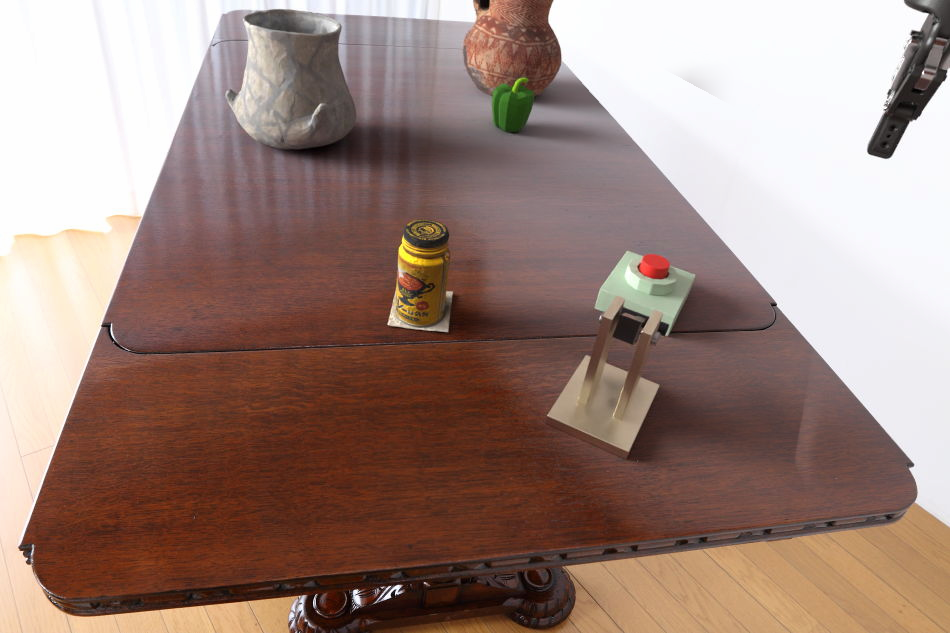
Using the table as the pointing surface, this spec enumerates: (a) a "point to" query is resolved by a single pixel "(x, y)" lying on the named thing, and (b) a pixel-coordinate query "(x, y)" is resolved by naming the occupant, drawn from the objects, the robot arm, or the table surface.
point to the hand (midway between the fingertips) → (877, 154)
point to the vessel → (293, 81)
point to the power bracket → (608, 390)
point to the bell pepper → (512, 105)
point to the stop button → (654, 266)
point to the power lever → (634, 326)
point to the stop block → (646, 290)
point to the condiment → (422, 278)
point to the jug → (512, 45)
